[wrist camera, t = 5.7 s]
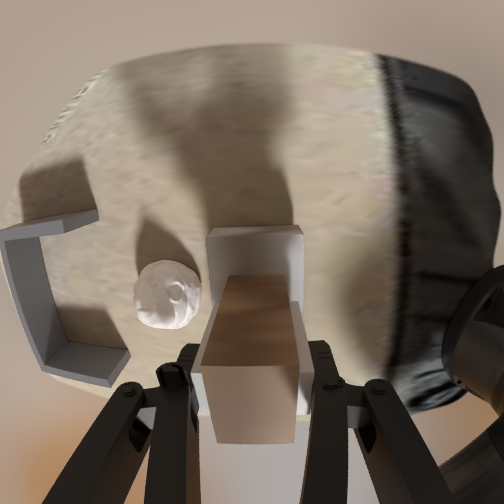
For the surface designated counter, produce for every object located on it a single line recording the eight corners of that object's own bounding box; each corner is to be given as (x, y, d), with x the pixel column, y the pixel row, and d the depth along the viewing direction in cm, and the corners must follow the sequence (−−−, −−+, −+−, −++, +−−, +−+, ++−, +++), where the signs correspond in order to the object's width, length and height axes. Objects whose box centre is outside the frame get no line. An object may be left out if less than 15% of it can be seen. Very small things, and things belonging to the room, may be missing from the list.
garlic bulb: (197, 310, 17) (170, 368, 18) (214, 276, 23) (190, 326, 24) (121, 270, 16) (105, 332, 18) (154, 245, 22) (136, 298, 24)
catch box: (97, 209, 21) (62, 219, 17) (130, 357, 26) (110, 387, 21) (30, 220, 22) (-3, 231, 17) (64, 347, 26) (42, 371, 21)
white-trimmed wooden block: (298, 224, 20) (341, 299, 8) (296, 343, 23) (314, 464, 11) (213, 228, 20) (153, 303, 9) (225, 345, 23) (200, 464, 12)
